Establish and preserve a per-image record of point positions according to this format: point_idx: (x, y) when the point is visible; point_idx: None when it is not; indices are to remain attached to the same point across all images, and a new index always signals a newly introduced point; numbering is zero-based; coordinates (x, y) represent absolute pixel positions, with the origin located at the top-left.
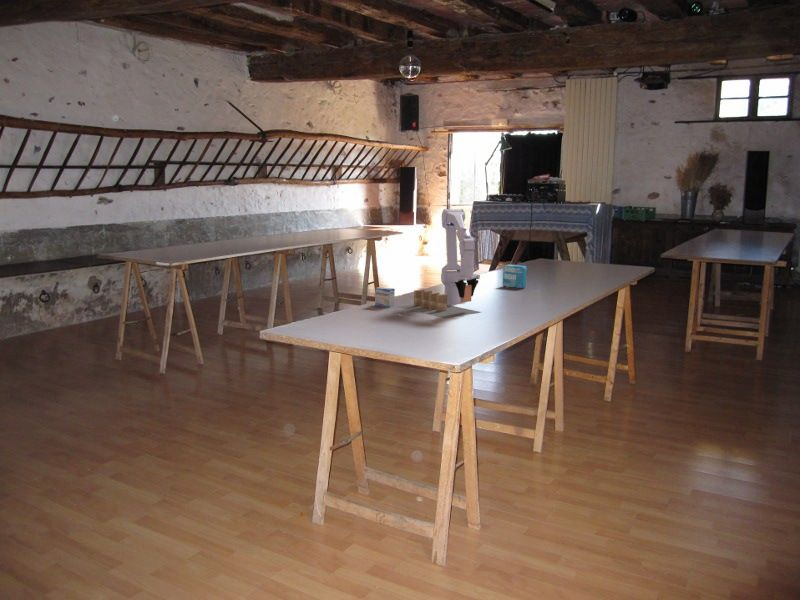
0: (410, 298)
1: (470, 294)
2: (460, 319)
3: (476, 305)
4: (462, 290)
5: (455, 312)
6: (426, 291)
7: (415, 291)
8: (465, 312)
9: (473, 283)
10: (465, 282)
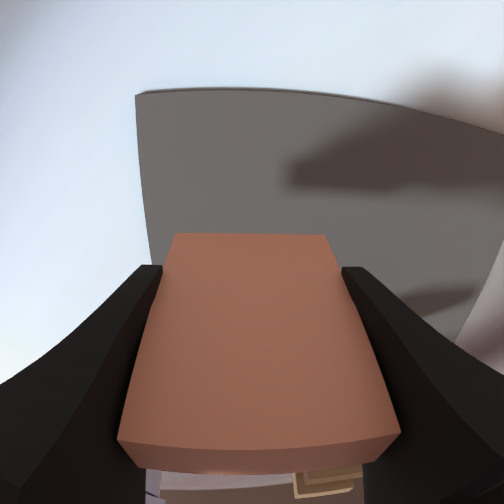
0: (215, 478)
1: (177, 293)
2: (485, 60)
3: (27, 317)
4: (437, 341)
5: (345, 229)
6: (336, 479)
7: (351, 485)
8: (279, 176)
9: (79, 461)
10: (500, 481)
